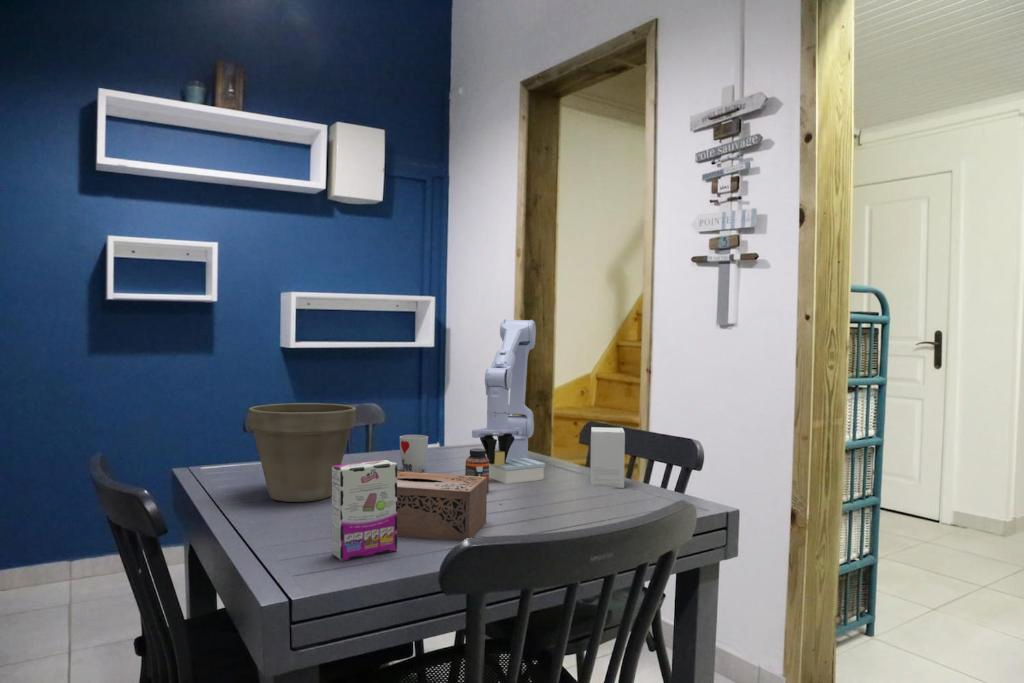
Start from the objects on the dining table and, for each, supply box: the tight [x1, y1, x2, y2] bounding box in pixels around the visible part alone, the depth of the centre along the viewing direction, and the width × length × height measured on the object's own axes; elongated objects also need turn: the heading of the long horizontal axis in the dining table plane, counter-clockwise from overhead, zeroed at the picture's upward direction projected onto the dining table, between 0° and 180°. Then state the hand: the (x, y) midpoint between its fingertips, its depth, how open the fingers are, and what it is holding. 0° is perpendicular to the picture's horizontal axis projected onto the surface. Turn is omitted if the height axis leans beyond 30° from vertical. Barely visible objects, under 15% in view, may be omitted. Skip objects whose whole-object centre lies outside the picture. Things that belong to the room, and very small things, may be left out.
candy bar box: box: [331, 459, 398, 562], centre depth 131 cm, size 11×5×16 cm, turn 126°
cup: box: [399, 434, 429, 473], centre depth 205 cm, size 8×8×10 cm
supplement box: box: [589, 426, 626, 489], centre depth 194 cm, size 9×9×15 cm
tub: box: [489, 465, 545, 485], centre depth 196 cm, size 9×12×4 cm
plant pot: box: [248, 402, 357, 503], centre depth 174 cm, size 25×25×22 cm
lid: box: [489, 449, 546, 471], centre depth 195 cm, size 10×14×4 cm
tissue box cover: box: [397, 470, 488, 542], centre depth 149 cm, size 26×14×10 cm, turn 79°
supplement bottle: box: [464, 447, 490, 494], centre depth 179 cm, size 6×6×11 cm
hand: (496, 462), depth 192 cm, fingers closed on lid, 3 cm apart
